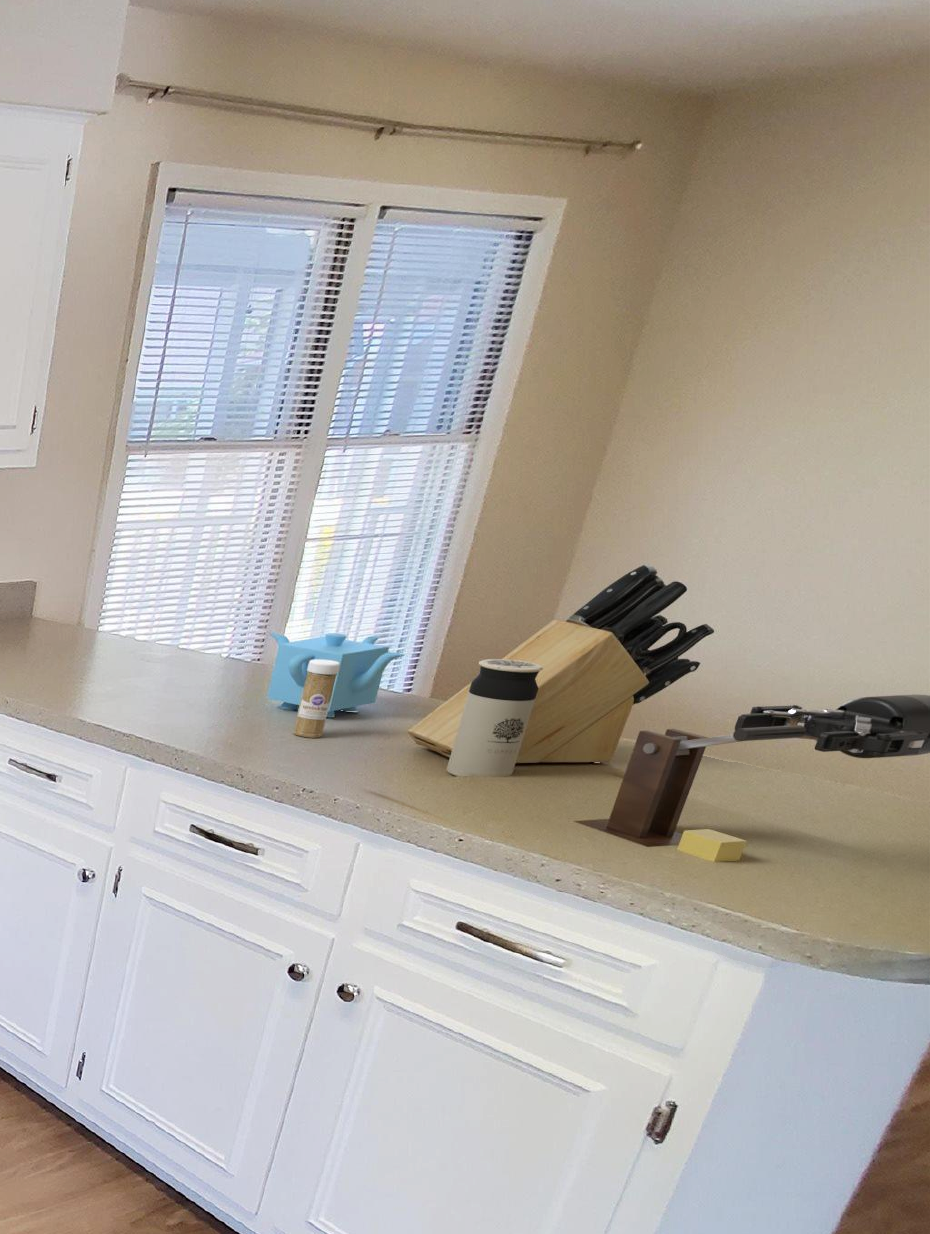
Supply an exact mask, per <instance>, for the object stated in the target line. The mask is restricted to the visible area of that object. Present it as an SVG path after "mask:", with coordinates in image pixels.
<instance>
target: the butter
mask: <svg viewBox="0 0 930 1234" xmlns="http://www.w3.org/2000/svg"><path fill="white" fill-rule="evenodd" d="M682 834H683V835H682V838H681V840H680V843H679V845H677V851H680V852H683V853H686V854H689V855H692V856H695V857H698V858H701V859H704V860H706V861H710V862H713V863H719V862H721V863H722V862H723V863H724V862H736V861H740V860H741V858H742V854H743V852H744V850H745V847H746V845H747V842H748V840H745V839H742V838H739V837H737V836H733V835H729V834H726V833H723V832H720V831H717V830H714V829H710V828H703V829H702V828H701V829H688V830H687V829H686V830H684V831H683V833H682Z"/></svg>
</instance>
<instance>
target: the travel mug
mask: <svg viewBox="0 0 930 1234" xmlns="http://www.w3.org/2000/svg"><path fill="white" fill-rule="evenodd" d="M478 665H479V674H478V675H477V676H476V677H475V678H474V679H473V680H471V682H470V683H471V686H470V689H469V693H468V696H467V700H466V703H465V707H464V710H463V714H462V717H461V721H460V724H459V728H458V731H457V735H456V738H455V742H454V745H453V749H452V752H451V756H450V758H448V759H449V760H448V763H447V767H446V772H448V773H449V774H450V775H452V776H453V777H470V776H484V777H493V778H494V777H498V778H499V777H500V778H501V777H510V776H511V775H512V774H513V772H514V769H515V766H516V764H517V763H516V760H517V756H518V753H519V750H520V747H521V743H522V740H523V737H524V734H525V730H526V727H527V724H528V721H529V717H530V714H531V711H532V708H533V705H534V701H535V698H536V695H537V692H538V686H537V683H536V680H535V678H536V677H537V675H538V673H539V671H541V670H542V666H540V665H538V664H534V663H530V662H524V661H516V660H505V659H503V658H491V659H490V658H489V659H482V660H479V662H478Z"/></svg>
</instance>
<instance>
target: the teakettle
mask: <svg viewBox="0 0 930 1234" xmlns="http://www.w3.org/2000/svg"><path fill="white" fill-rule="evenodd" d="M268 635H270V636H271V637H273V638H274V640H275V641H276V642H277V645H278V647H277V650H276V656H275V660H274V664H273V668H272V669H273V670H272V674H271V678H270V683H269V688H268V692H267V697H266V698H267V699H269V700H273V701H278V702H283V703H282V704H281V705H279V706H278V708H279V709H283V710H287V711H288V710H290V711H294V710H295V711H296V710H298V709H299V704H300V700H301V696H302V692H303V688H304V686H305V682H306V677H307V672H308V671H307V668H308V664H309V661H310V660H315V659H323V660H332V661H336V662H339V663H340V667H339V672H338V674H337V676H336V679H335V682H334V687H333V693H332V697H331V701H330V705H329V709H328V713H327V717H333V716H335V717H336V715H335V714H336V713H335V711H338V710H339V711H340V710H343V711H358V709H357V707H360V706H364V705H369V704H374V703H376V701H377V697H378V692H379V689H380V685H381V681H382V678H383V673H384V671H385V669H386V668H387V666H388V665H389V664H390V663H391V661H393V660H395V659H397V658H401V657H405V656H406V654H405V653H400V652H399V653H398V652H389V649H390V647H389V646H387V645H380V644H375V643H376V642H377V640H379V639H380V636H378V635H372V636H368V637H365V638H364V639H363V640H362V641H356V640H348V639H347V637H348V635H346V634H343V633H337V632H333V633H332V632H329V633H325V634H324V636H319V637H314V638H313V637H312V638H307V639H301V640H294V641H290V640H289V638H288V637H287V636H286V635H284V634H280V633H275V632H269V633H268Z"/></svg>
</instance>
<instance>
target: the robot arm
mask: <svg viewBox="0 0 930 1234" xmlns="http://www.w3.org/2000/svg"><path fill="white" fill-rule="evenodd" d="M799 724H803V726H804V727H805V728H806V734H805V735H804V736H803V737H801V738H800V739H801V740H802V739H803V740H813V741H815V745H814V750H815V751H817V752H823V753H829V752H840V753H842V754H844V755H846V756H849V757H851V758H857V759H880V758H881V759H882V758H895V757H898V758H899V757H912V756H913V757H914V756H921V755H926V754H930V694H929V695H928V694H900V695H899V694H898V695H897V694H895V695H881V696H879V695H878V696H864V697H857V698H855V699H851V700H850V701H847V702H845V703H843V704H842V705H840V706H839V707H837V708H836V709H833V708H832V709H831V708H826V709H821V710H818V709H816V710H815V709H806V708H805V709H803V707H802V706H799V705H796V704H793V705H769V706H759V705H758V706H752V707H751V710H750V712H749V713H744V714H741V715H739V716H738V717H737V720H736V723H735V725H734V732H735V731H736V730H737V729H740V728H757V727H774V726H791V725H799Z"/></svg>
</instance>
